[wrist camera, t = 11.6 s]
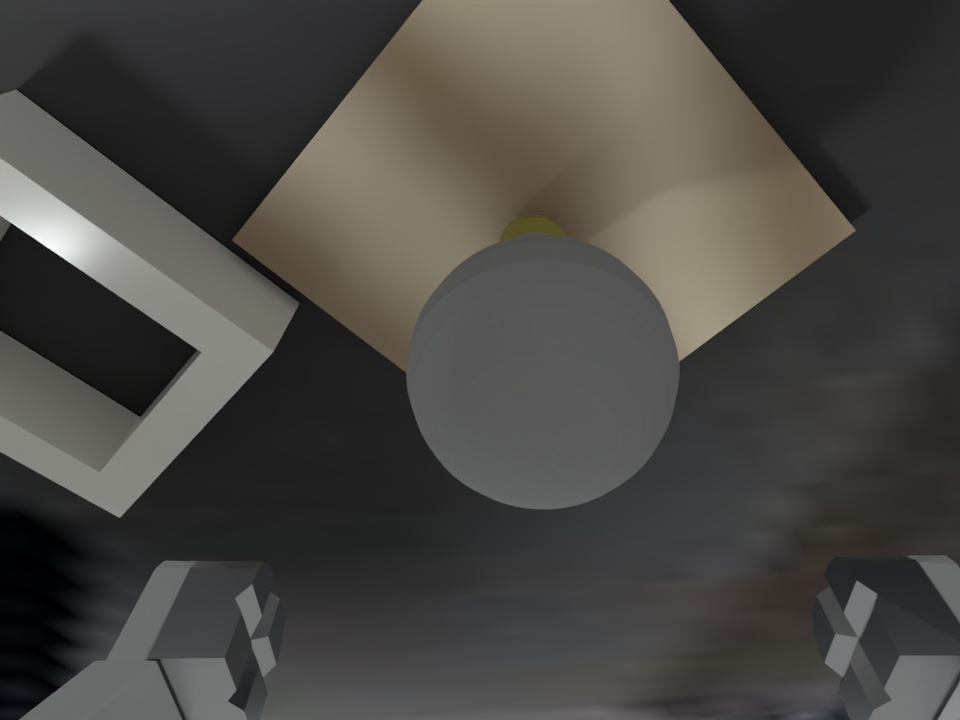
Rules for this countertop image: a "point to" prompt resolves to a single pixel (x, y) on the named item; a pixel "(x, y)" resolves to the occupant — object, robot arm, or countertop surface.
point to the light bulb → (542, 369)
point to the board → (543, 167)
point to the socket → (141, 282)
